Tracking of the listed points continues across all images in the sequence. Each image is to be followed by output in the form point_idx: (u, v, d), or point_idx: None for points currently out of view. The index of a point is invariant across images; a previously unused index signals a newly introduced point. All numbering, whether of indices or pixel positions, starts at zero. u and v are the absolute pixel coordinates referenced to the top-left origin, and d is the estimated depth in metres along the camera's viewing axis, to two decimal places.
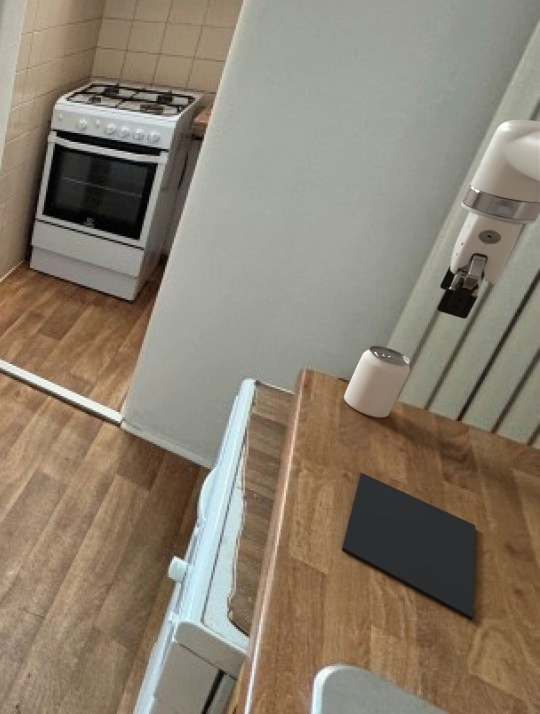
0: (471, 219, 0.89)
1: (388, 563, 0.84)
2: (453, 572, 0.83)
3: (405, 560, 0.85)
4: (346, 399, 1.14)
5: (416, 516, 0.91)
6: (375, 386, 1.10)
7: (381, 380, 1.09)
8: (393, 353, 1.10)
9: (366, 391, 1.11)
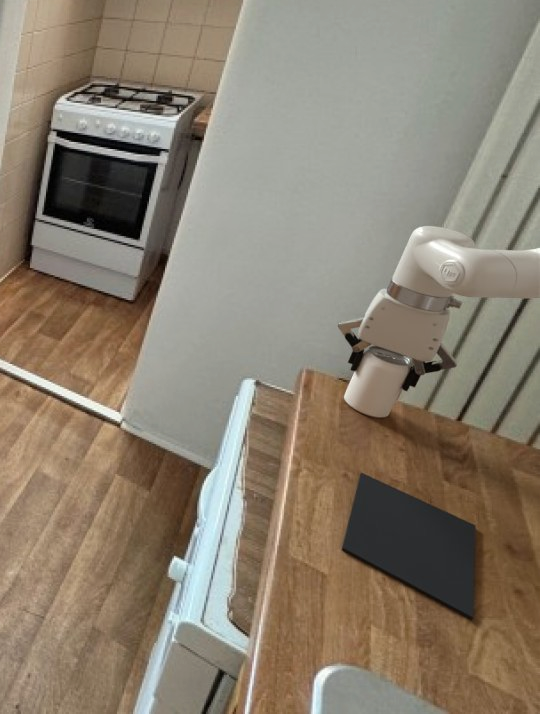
0: (433, 319, 1.02)
1: (388, 563, 0.84)
2: (453, 572, 0.83)
3: (405, 560, 0.85)
4: (346, 399, 1.14)
5: (416, 516, 0.91)
6: (375, 386, 1.10)
7: (381, 380, 1.09)
8: (393, 353, 1.10)
9: (366, 391, 1.11)
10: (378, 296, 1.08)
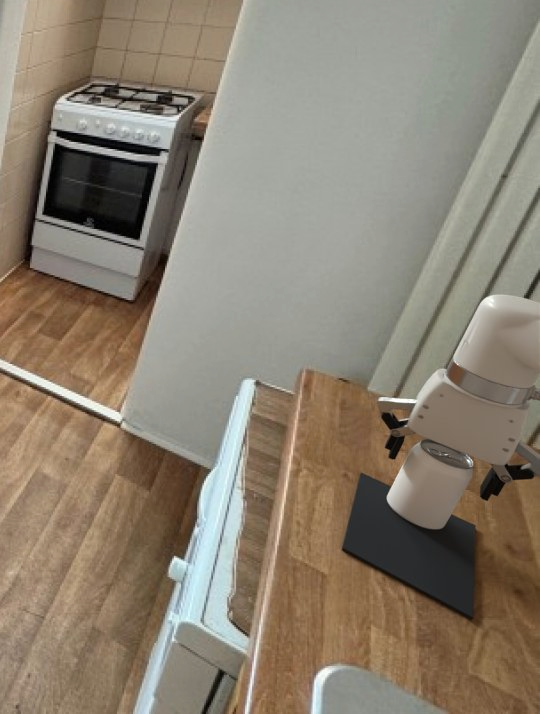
0: (509, 413, 0.80)
1: (388, 563, 0.84)
2: (453, 572, 0.83)
3: (405, 560, 0.85)
4: (390, 502, 0.92)
5: None
6: (428, 492, 0.87)
7: (437, 485, 0.87)
8: (451, 450, 0.88)
9: (416, 497, 0.89)
10: (435, 379, 0.86)
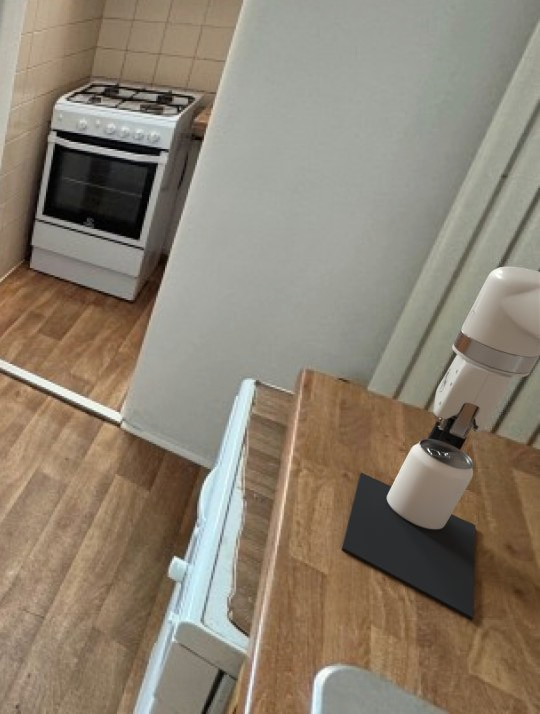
0: None
1: (388, 563, 0.84)
2: (453, 572, 0.83)
3: (405, 560, 0.85)
4: (390, 502, 0.92)
5: None
6: (428, 492, 0.87)
7: (437, 486, 0.87)
8: (450, 450, 0.88)
9: (416, 497, 0.89)
10: (496, 379, 0.82)
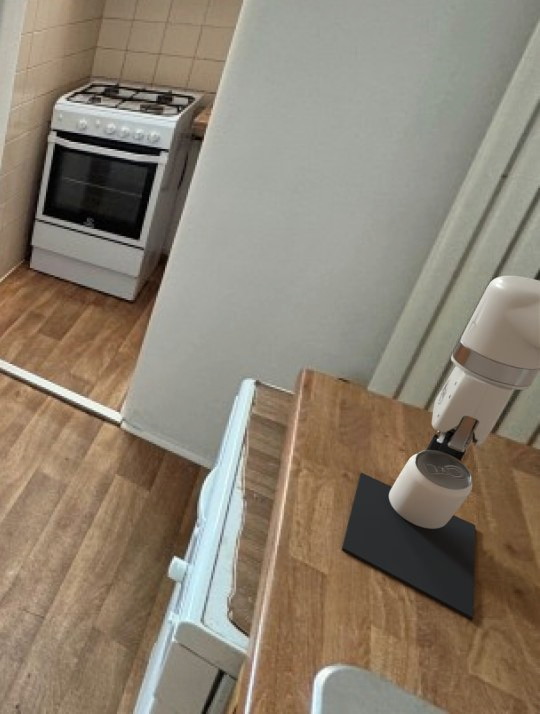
0: None
1: (388, 563, 0.84)
2: (453, 572, 0.83)
3: (405, 560, 0.85)
4: (391, 502, 0.92)
5: None
6: (425, 505, 0.86)
7: (432, 501, 0.85)
8: (450, 462, 0.85)
9: (413, 505, 0.88)
10: (496, 392, 0.80)
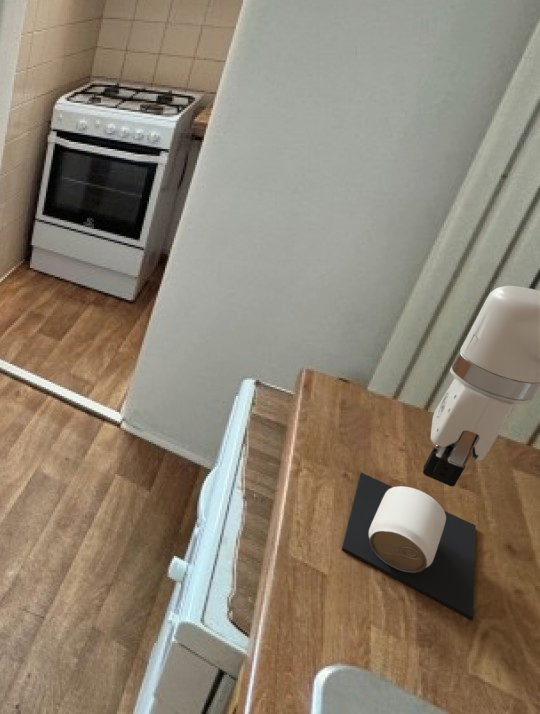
0: None
1: None
2: (453, 572, 0.83)
3: None
4: None
5: None
6: None
7: None
8: (404, 541, 0.82)
9: None
10: (496, 406, 0.77)
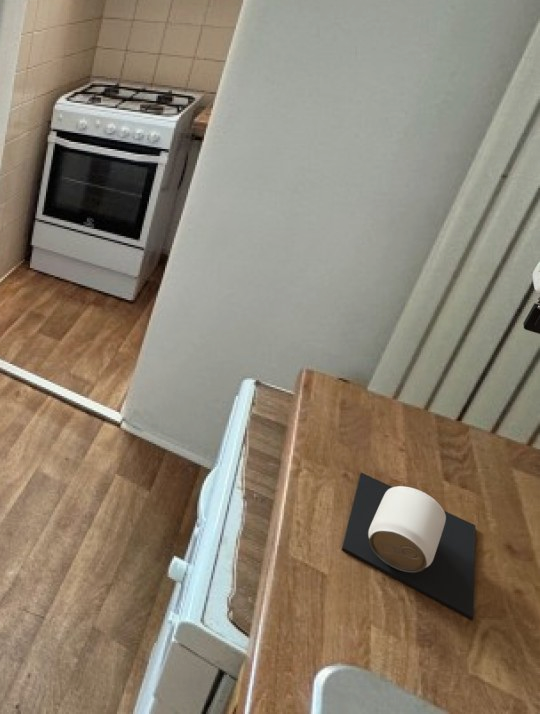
0: None
1: None
2: (453, 572, 0.83)
3: None
4: None
5: None
6: None
7: None
8: (404, 541, 0.82)
9: None
10: None
